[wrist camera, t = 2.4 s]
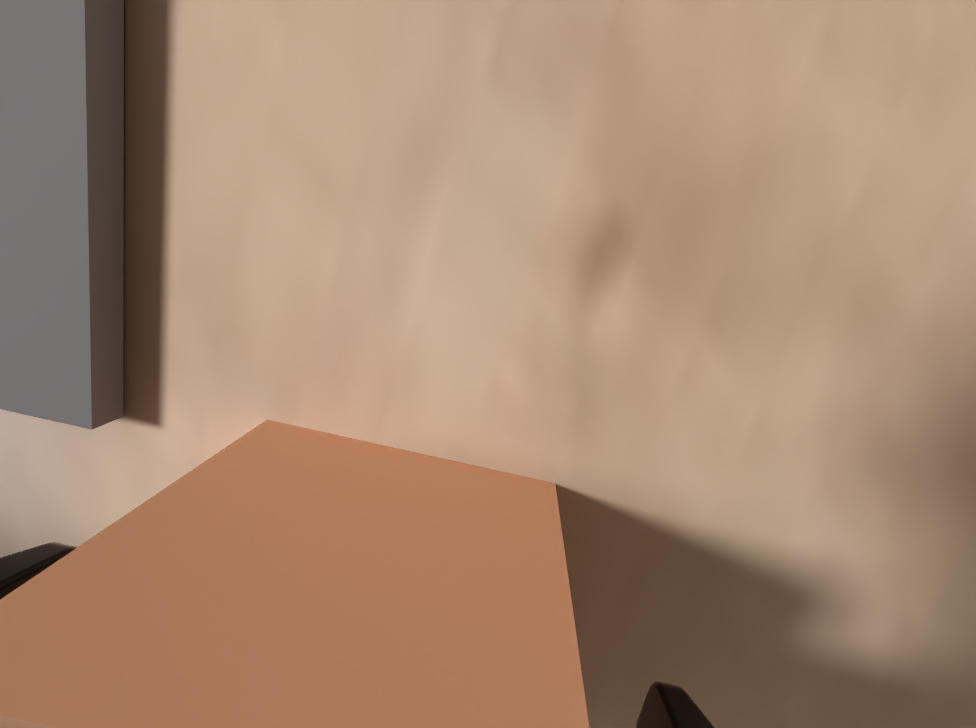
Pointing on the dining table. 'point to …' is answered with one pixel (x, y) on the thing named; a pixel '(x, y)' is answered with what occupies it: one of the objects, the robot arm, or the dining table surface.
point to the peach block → (306, 600)
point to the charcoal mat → (62, 209)
